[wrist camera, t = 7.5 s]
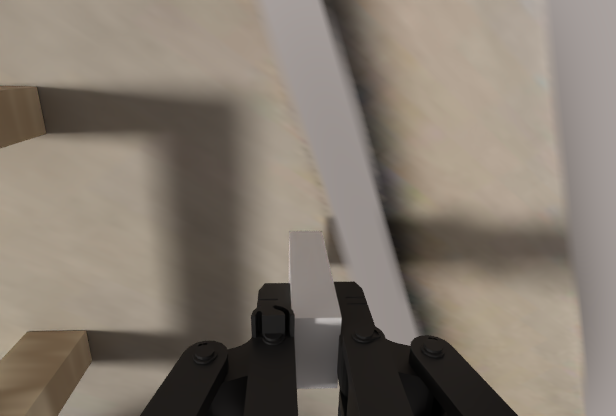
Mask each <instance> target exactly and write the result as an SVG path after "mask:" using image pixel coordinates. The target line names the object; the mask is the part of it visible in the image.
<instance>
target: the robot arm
mask: <svg viewBox="0 0 616 416" xmlns="http://www.w3.org/2000/svg"><path fill="white" fill-rule="evenodd" d="M251 326H252V338H251V339H250V340H249V341H248V342H247V343H245V344H243V345H241V346H239V347H236V348H232V349H228V350H227V348H226V347H225V346H224V345H223V344H222V343H219V342H216V341H202V342H198V343H196V344H194V345H192V346H190V347H189V348H188V349H187V350H186V351H185V352H184V353H183V354H182V356H181V357H180V359H179V360H178V361H177V363H176V364H175V366H174V367H173V369H172V370H171V372H170V373H169V374H168V376H167V377H166V379H165V380H164V382H163V383H162V385H161V386H160V387H159V389H158V390H157V392H156V393H155V395H154V396H153V398H152V399H151V400H150V402H149V403H148V405H147V406H146V408H145V409H144V411H143V412H142V413H141V415H140V416H298V405H297V389H312V388H337V385H338V380H339V386H340V392H339V407H338V416H518V415H517V414H516V413H515V412H514V411H513V410H512V409H511V408H510V407H509V406H508V405H507V404H506V402H505V401H504V400H503V399H502V398H501V397H500V396H499V395H498V394H497V393H496V392H495V391H494V390H493V389H492V388H491V387H490V386H489V385H488V383H487V382H486V381H485V380H484V379H483V378H482V377H481V376H480V375H479V374H478V373H477V372H476V371H475V370H474V369H473V368H472V367H471V366H470V364H469V363H468V362H467V361H466V360H465V359H464V358H463V357H462V356H461V355H460V354H459V353H458V352H457V351H456V350H455V349H454V348H453V347H452V346H451V345H450V344H449V343H448V342H446V341H445V340H443V339H440V338H438V337H434V336H429V335H427V336H419V337H416V338H414V340H413V341H412V342H411V346H408V345H403V344H398V343H395V342H392V341H389V340H387V339H386V338H385V335H384V334H383V332H382V331H381V330H380V329H378V328H377V327H375V325H374V322H373V319H372V316H371V313H370V310H369V307H368V305H367V301H366V299H365V296H364V293H363V290H362V288H361V287H360V286H359V285H358V284H356V283H355V282H333V277H332V273H331V268H330V264H329V260H328V255H327V251H326V247H325V242H324V238H323V233H322V231H289V283H265V284H264V285H263V286H262V288H261V289H260V290H259V293H258V303H257V308H256V309H255V310H254V311H253V313H252V315H251Z"/></svg>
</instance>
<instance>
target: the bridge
mask: <svg viewBox="0 0 616 416" xmlns="http://www.w3.org/2000/svg"><path fill="white" fill-rule="evenodd" d="M44 134H46V130H45V125H44V120H43V115H42V110H41V105H40V100H39V95H38V90H37V87H27V86H0V148H3V147H6V146H9V145H12V144H15V143H18V142H22V141H25V140H28V139H31V138H34V137H37V136H41V135H44ZM91 362H92V358H91V353H90V348H89V343H88V338H87V333H86V331H40V332H27V333H26V334H25V335H24V336H23V337H22V338H21V339H20V340H19V341H18V342H17V343H16V345H15V346H14V347H13V348H12V349H11V350H10V351H9V352H8V353H7V354H6V355H5V356H4V357H3V358H2V359H1V361H0V416H58V414H59V413H60V411H61V409H62V408H63V406H64V405H65V403H66V401H67V400H68V398H69V397H70V395H71V394H72V392H73V390H74V389H75V387H76V386H77V384H78V382H79V381H80V379H81V378H82V376H83V375H84V373H85V371H86V370H87V368H88V367H89V365H90V363H91Z"/></svg>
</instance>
